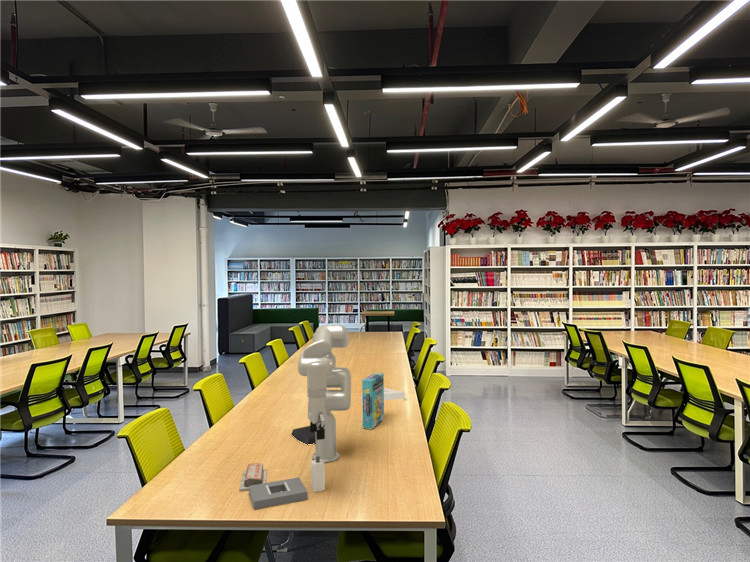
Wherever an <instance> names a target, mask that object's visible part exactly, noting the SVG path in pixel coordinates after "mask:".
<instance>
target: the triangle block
mask: <svg viewBox="0 0 750 562" xmlns="http://www.w3.org/2000/svg"><path fill="white" fill-rule="evenodd" d="M405 396H406V395H405V391H401V390H396V389H392V388H387V387H384V401H385V400H395V399H405ZM360 397H361V398H360V403H363V399H362V395H360Z"/></svg>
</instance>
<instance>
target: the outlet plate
mask: <svg viewBox="0 0 750 562" xmlns="http://www.w3.org/2000/svg"><path fill="white" fill-rule="evenodd" d="M281 491H282V492H281ZM248 494H249V498H250V502H251V501H252V502H251V505H252V509H253V510H255V509H256V510H260V508H261V509H265V507H266V508H269V506H271V507H276V506H275V505H277V506H280V505H279V504H282V505H285V504H284V503H287V504H291V503H290V502H292V503H297V501H298V502H302V501H307V499H308V496H309V495H308V490H307V488H306V487H305V485H304V483H303V481H302V479H301V478H300V477H299V476H297V477H292V478H287V479H281V480H275V481H271V482H270V481H269V482H265V483H263V484H257V485H251V486H249V491H248ZM256 510H255V511H256Z"/></svg>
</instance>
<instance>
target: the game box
mask: <svg viewBox="0 0 750 562" xmlns="http://www.w3.org/2000/svg"><path fill="white" fill-rule="evenodd" d="M384 378H385V376H384V372H383V373H382V372H373V373H372V374H370V375H369V376H367V377H365V378H364V379H362V381H361V382H362V383H361V384H362V385H361V386H362V394H361V396H362V399H363V405H362V428H363V427H364V428H374V427H375V426H376V425H377V424H378V423H379V422H380V421H381V420H382V419H383V418H384V419H385V403H384V388H385V386H384ZM384 419H383V420H384ZM383 420H382V421H383ZM382 421H381V422H382ZM381 422H380V423H381ZM380 423H379V424H380ZM379 424H378V425H379ZM378 425H377V426H378ZM377 426H376V427H377ZM376 427H375V428H376ZM375 428H374V429H375Z"/></svg>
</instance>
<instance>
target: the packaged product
mask: <svg viewBox="0 0 750 562" xmlns="http://www.w3.org/2000/svg"><path fill="white" fill-rule="evenodd" d="M267 471H268V469H264V464H263V463H262V462H255V463H253V462H252V463H249V464H248V465H247V467H246V469H244V470H243V474H242V476H241V481H240V484H239V488H238V489H239V492H249V491H248V490H249V486H251V485H257V484H263V483H266V480H267V475H268V474H267Z"/></svg>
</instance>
